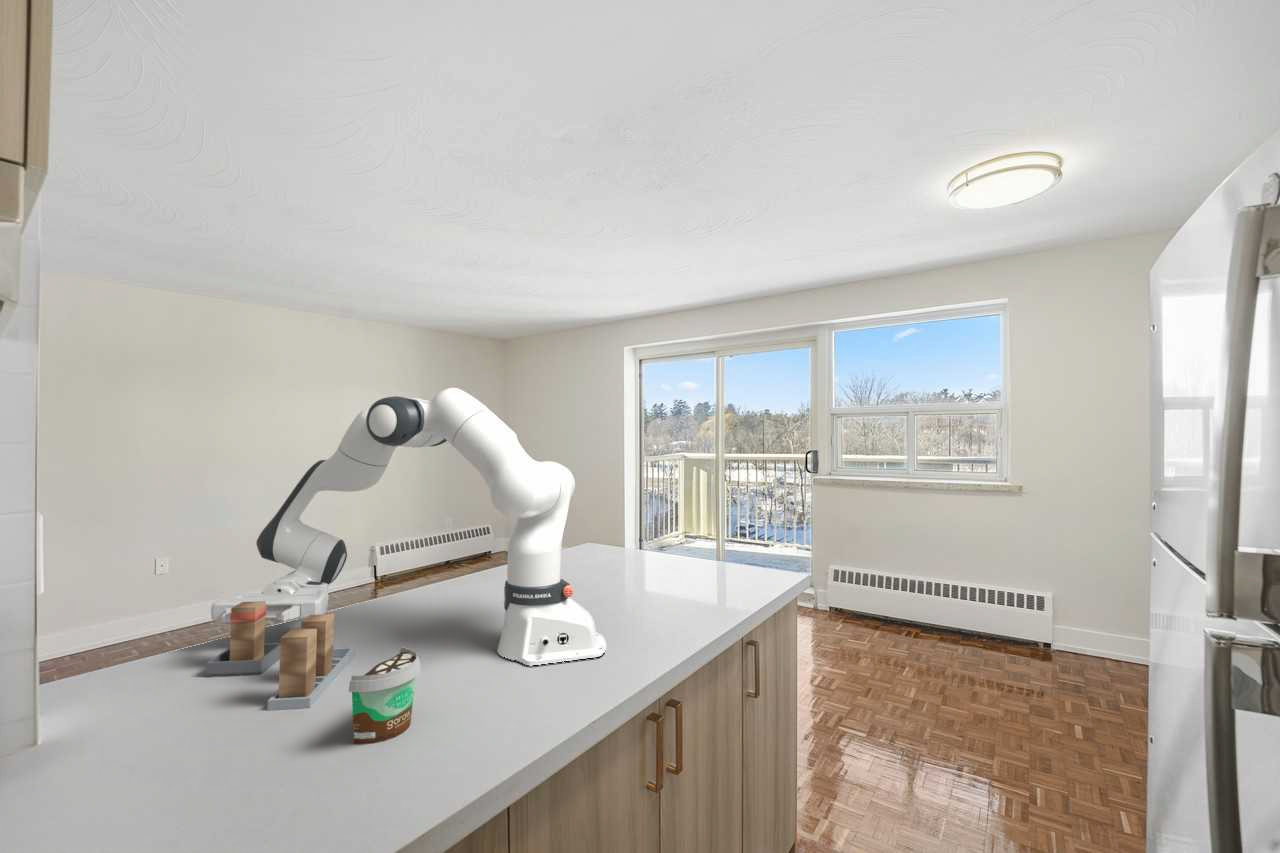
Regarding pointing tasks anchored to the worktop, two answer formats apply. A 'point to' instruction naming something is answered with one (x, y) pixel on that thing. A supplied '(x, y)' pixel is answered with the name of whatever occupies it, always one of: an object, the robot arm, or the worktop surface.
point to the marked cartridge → (247, 631)
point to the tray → (243, 663)
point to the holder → (320, 684)
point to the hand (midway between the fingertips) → (253, 618)
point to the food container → (384, 698)
